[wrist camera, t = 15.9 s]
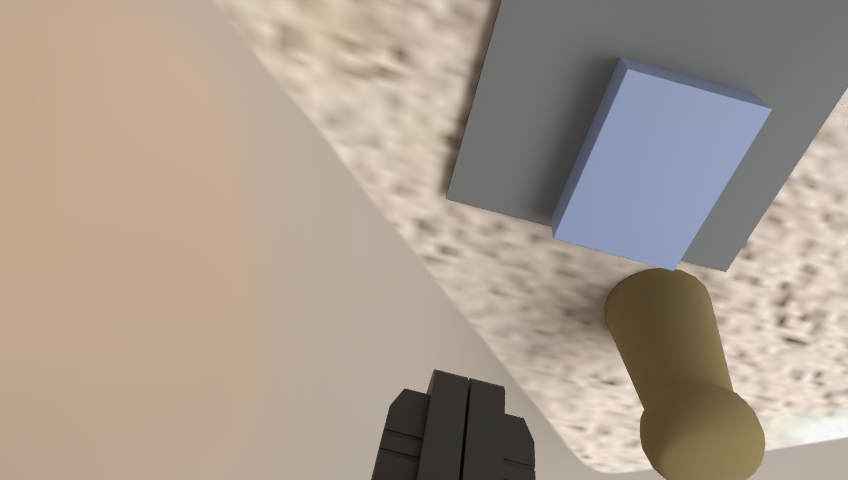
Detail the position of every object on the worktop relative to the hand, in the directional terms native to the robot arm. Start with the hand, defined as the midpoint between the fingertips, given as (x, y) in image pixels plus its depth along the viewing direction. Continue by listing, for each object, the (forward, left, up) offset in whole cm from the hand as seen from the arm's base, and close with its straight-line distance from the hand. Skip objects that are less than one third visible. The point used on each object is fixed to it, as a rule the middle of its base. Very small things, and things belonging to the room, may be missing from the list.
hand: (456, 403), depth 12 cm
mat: (-7, -1, -20) cm, 21 cm away
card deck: (-5, +1, -18) cm, 19 cm away
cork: (-13, +10, -20) cm, 26 cm away
